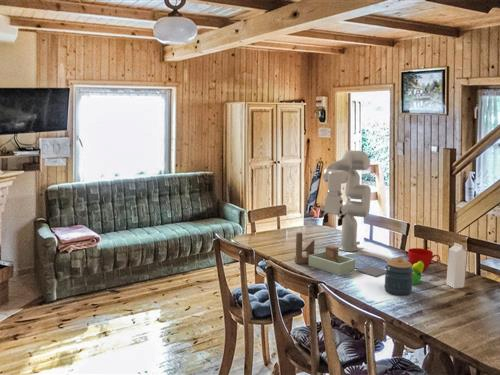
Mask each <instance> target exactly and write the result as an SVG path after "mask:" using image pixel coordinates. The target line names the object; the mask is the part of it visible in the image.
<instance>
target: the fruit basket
mask: <svg viewBox="0 0 500 375" xmlns="http://www.w3.org/2000/svg"><path fill="white" fill-rule="evenodd" d="M411 267H412V268H413V272H412V275H413V278H412V285H419V283H420V281H421V278H422V276H423V275H422V273H423V271H424V270H423V267H424V264H423V262H422V261H418V263H415V264H413V266H411Z"/></svg>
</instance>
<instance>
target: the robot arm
mask: <svg viewBox="0 0 500 375" xmlns="http://www.w3.org/2000/svg"><path fill="white" fill-rule="evenodd" d="M370 167H371V159H370V158H369V156H368V154H367V153H366V151H364V150H352V149H351V150H345V151H344V152H343V153H342V155H341V157H340V158H339V160H336V161H334V162H331V163H330V164H328V165H327V166H326V167H325V169H324V171H323V174H322V179H323V181H324V182H325V183H327V188H326V189H327V190H326V191H327V192H326V196H325V199H324V200H325V201H324V205H323V206H320V210H321V213H322V215H323V223H324V224H326V223H327V224H328V222H329V215H334V216H337V217H338V219H337V226H338V227H340V226H341V237H340V238H341V240H340V241H341V243H340V244H341V245H339V246H338V250H339V251H343V252H348V253H350V252H351V253H352V252H357V251H359V250H360V248H359V247H358V245H360V244H361V242H360V241H357V240H358V239H357V237H358V234H357V233H358V222H357V219H356V218H355V217H357V218H366V217H368V216H369V214H370V208H371V207H370V206H371V196H372V194H371V193H372V192H371V190H372V189H371V187H370V186H369V185H367V184H360V183H361V180H360V179H361V176H360V174H359V172H358V171H367V170H369V169H370ZM342 184H345V190H344V195H345V198H347V199H350V200H345V201H344V200H343V192H342ZM356 200H360V201H356Z"/></svg>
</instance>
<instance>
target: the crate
mask: <svg viewBox="0 0 500 375" xmlns="http://www.w3.org/2000/svg"><path fill="white" fill-rule="evenodd" d="M325 255H326V250H322V251H319V252H314V254H311V255H309V262H308V263H307V264H308V266H309V267H313V268H315V269H316V268H317V269H318V270H322V271H324V272H325V271H326V272H328V273H331V274H334V275H338V276H340V275H341V276H342V275H344V274H347V273H349V272H352V271H356V259H355V258H352V257H349V256H345V255H342V254H341V255H340V254H338V263H336V262H332V261H329V260H326V259H325Z"/></svg>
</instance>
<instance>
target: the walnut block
mask: <svg viewBox="0 0 500 375" xmlns="http://www.w3.org/2000/svg"><path fill="white" fill-rule="evenodd" d="M325 251H326V255H325V259H326V260H329V261H332V262H336V263H338V255H339V246H335V245H332V244H331V245H328V246H325Z"/></svg>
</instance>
